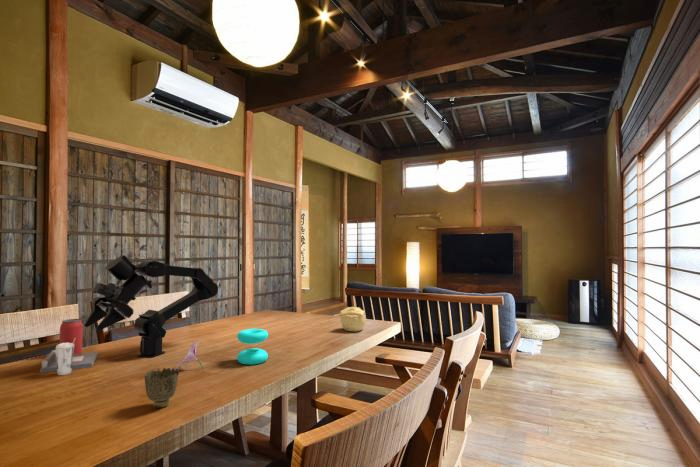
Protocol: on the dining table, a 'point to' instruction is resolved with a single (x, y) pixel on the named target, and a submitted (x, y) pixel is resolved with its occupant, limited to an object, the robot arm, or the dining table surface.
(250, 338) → the donuts
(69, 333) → the beer can
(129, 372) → the dining table surface
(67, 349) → the milkshake
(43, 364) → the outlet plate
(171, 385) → the cup
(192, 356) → the lily
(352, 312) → the pale yellow rounded lump
